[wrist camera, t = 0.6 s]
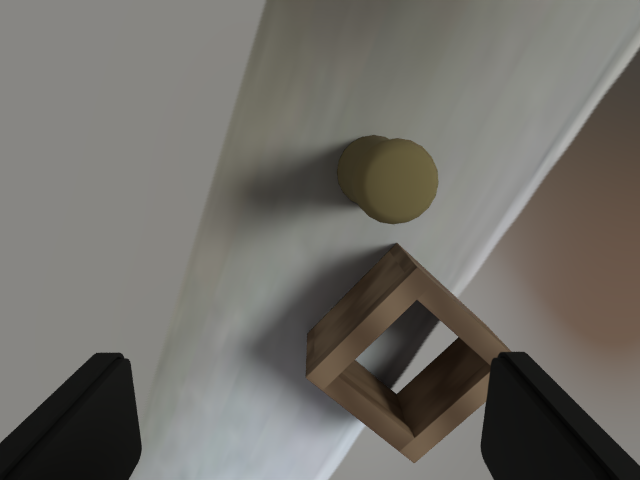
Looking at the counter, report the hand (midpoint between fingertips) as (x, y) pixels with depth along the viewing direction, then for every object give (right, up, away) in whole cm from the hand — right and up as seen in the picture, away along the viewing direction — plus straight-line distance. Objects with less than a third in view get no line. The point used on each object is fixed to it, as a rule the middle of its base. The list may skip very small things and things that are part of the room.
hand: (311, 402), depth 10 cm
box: (+8, -4, +26) cm, 28 cm away
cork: (+5, +10, +23) cm, 25 cm away
